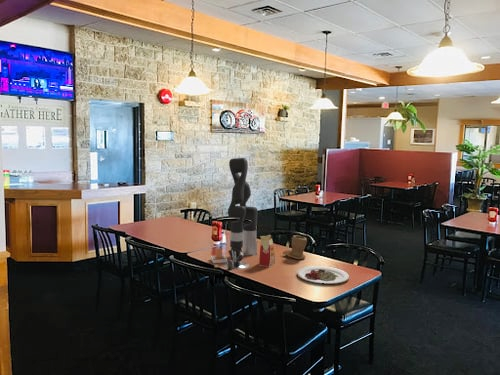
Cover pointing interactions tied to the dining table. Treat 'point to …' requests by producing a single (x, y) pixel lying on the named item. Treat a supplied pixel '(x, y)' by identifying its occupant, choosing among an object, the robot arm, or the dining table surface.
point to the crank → (231, 264)
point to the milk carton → (266, 252)
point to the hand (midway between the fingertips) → (236, 267)
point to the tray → (219, 260)
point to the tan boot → (297, 247)
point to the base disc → (242, 266)
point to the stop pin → (218, 253)
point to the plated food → (323, 274)
